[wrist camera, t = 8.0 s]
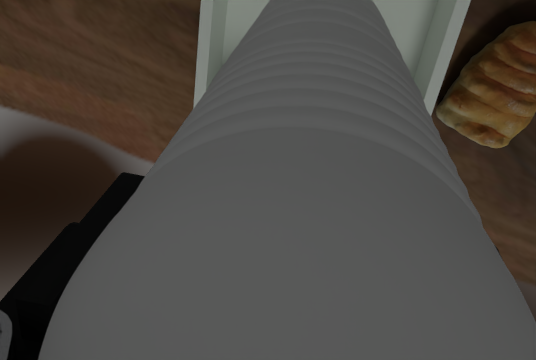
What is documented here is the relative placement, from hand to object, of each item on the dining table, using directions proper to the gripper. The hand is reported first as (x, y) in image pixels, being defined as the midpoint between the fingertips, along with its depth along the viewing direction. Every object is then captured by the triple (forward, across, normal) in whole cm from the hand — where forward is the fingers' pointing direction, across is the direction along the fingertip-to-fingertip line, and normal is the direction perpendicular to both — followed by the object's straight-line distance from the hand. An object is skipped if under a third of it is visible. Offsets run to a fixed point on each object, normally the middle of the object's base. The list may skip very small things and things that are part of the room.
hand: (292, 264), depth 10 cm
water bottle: (+16, 0, 0) cm, 16 cm away
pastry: (+30, -14, +3) cm, 33 cm away
